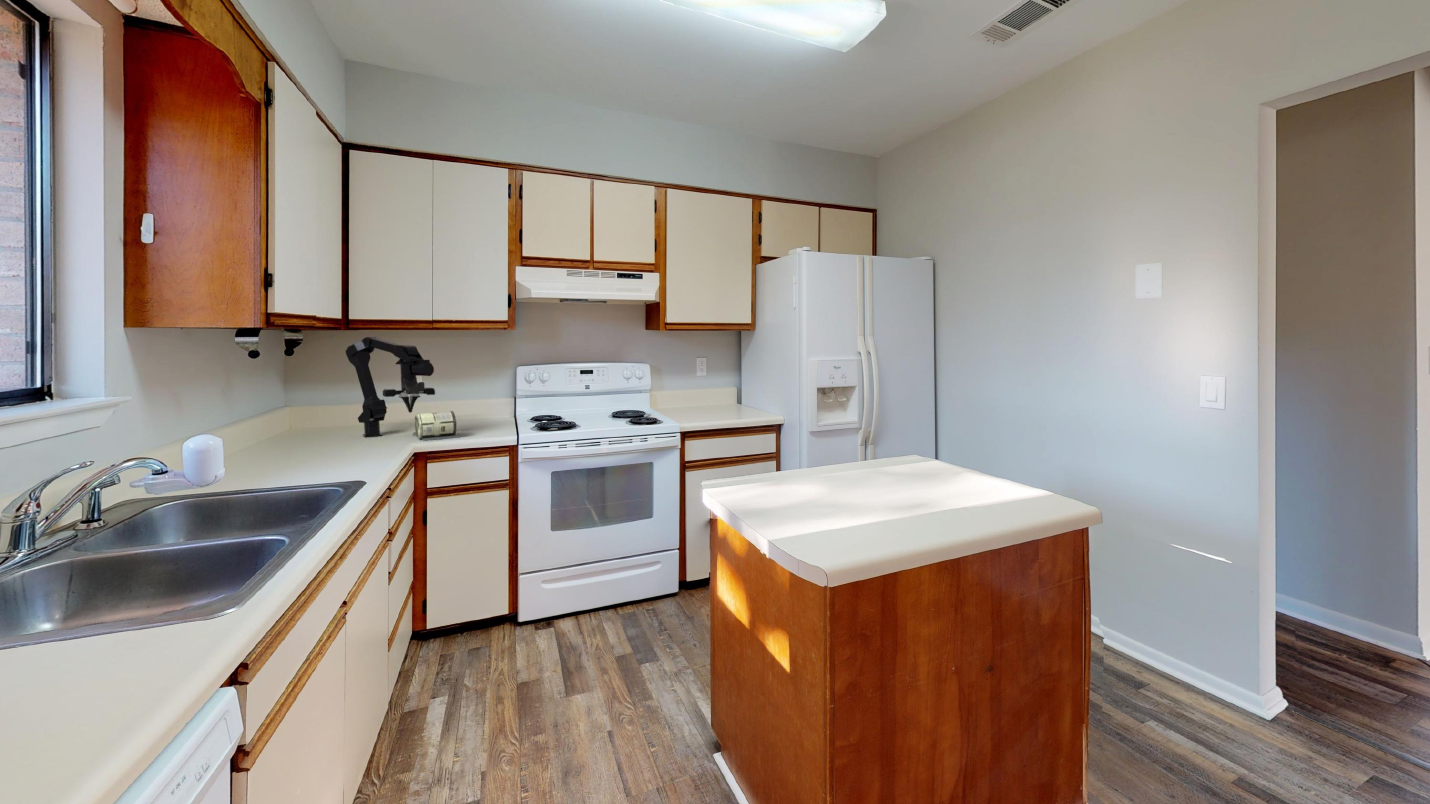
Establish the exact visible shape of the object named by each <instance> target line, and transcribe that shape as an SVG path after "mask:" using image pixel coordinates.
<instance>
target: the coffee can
mask: <svg viewBox="0 0 1430 804" xmlns="http://www.w3.org/2000/svg"><path fill="white" fill-rule="evenodd" d="M457 427H458V426H457V418H456V414H455V413H454V411H453V410H450V411H441V412H428V413H425V412H424V413H416V414H415V416H414V429H415V432H416V435H417V436H416V438H417V439H420V438H424V437H434V436H444V435H455V434H457Z"/></svg>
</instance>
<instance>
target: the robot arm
mask: <svg viewBox="0 0 1430 804" xmlns="http://www.w3.org/2000/svg"><path fill="white" fill-rule="evenodd" d="M375 349H376V350H381V351H384V352H388V353H389V354H390V353H391V354H393V356H394V357H396V358H398V360H397V361H396V362H395V365H399V366H400V367H399V368H400V386H401V387H400V389H399V390H397V389H395V388H384V389H383V390H382V396H383V397H385V398H388V397H389V398H391V397H392V398H393V397H395V396H398V398H400V399H401V400H402V401H403V403H404V405H405V407H406V409H407V412H409V413H412V412H413V409H414V407H415V404H416V401H417V400H418V399H419V398H421V396H420V395H422V394H423V395H427V396H432V395H433V396H434V395H436V390H435V388H434V387H425V382H424V381H418V378H417V377H419V376H420V377H421V376H422V377H431V376H432V375H433V374H434V371H435V368H434V367H435V366H434V365H433V364H432V362H431V360H430V359H424V358H423V357H422V355H421V353H420V351H419V350H418V348H417V347H416V345H412V344H411V345H410V344H398V343H394V342H391V341H388V340H384V339H381V338H377V337H376V336H366V337H364V338H362V339H361V340H359V341H357V342H354V343H353V344H351V345H349V346H347V347H346V350H345V355H346V357H347V359H348V362H349V363H350V364H351V365H352V366H353V367H354V368H355V372H356V374H357V379H358V381H359V385H360V388H361V392H362V395H363V399H364V400H363V403H362V405H361V406H362V407H361V408H362V411H361V413H360V414H359V416H358V417H357V420H358V422H359V423H361V424H363V426H364V427H363V430H364V433H362V436H363V437H364V438H370V437H381V436H383V434H382V433H381V429H380V428H381V427H380V425H381V424H380V422H383V421H385V417H386V414H387V412H388V411H387V409H388V407H387V406H386V400H385V399H381V398H379V396H378V393H377V390H376V387H375V386H376V385H375V384H374V379H373V376H372V372H371V369H370V366H369V364H370V361H371V354H372V353H373V352H374V351H375ZM409 413H408V414H409Z"/></svg>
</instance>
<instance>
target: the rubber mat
mask: <svg viewBox="0 0 1430 804" xmlns="http://www.w3.org/2000/svg"><path fill="white" fill-rule="evenodd" d="M412 435H414V436H415V437H417V435H416V431H415V432H412ZM456 438H457V439H458V438H459V439H460V438H461V436H460V435H459V434H457V433H456V434H455V435H444V436H434V437H424V438H419V439H420V440H422V441H435V440H437V441H438V440H447V439H456Z"/></svg>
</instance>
